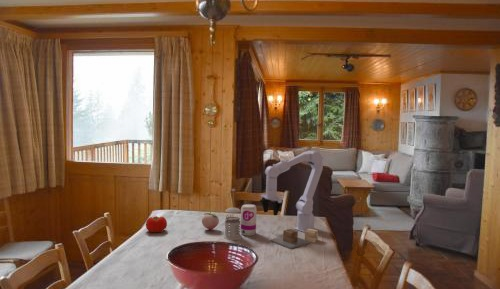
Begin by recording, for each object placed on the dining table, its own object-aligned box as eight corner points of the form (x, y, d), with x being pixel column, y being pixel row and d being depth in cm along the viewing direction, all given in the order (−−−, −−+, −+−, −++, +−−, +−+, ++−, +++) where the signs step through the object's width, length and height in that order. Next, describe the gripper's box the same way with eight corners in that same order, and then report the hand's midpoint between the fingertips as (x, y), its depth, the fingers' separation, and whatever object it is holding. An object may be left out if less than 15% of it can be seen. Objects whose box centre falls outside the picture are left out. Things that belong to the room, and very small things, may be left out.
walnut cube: (290, 238, 189) (290, 228, 189) (297, 241, 185) (297, 231, 185) (283, 240, 186) (283, 230, 185) (290, 243, 182) (290, 232, 182)
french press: (245, 235, 194) (246, 188, 192) (235, 242, 184) (236, 191, 182) (228, 233, 198) (229, 186, 197) (217, 239, 188) (218, 189, 186)
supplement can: (254, 236, 193) (255, 208, 192) (238, 235, 195) (239, 206, 194) (257, 232, 201) (258, 204, 200) (242, 230, 203) (242, 203, 202)
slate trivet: (289, 236, 195) (289, 234, 195) (310, 243, 185) (310, 241, 185) (270, 241, 186) (270, 239, 186) (290, 249, 176) (290, 247, 176)
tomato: (169, 228, 203) (169, 215, 203) (162, 234, 193) (162, 220, 192) (150, 227, 205) (150, 214, 204) (142, 233, 194) (142, 219, 193)
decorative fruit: (198, 231, 200) (198, 212, 200) (205, 227, 208) (206, 209, 207) (213, 233, 197) (214, 214, 196) (220, 229, 205) (221, 211, 204)
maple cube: (308, 238, 193) (308, 228, 193) (317, 240, 190) (317, 230, 190) (304, 240, 189) (304, 231, 188) (314, 242, 186) (314, 232, 186)
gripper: (256, 187, 204) (256, 211, 205) (275, 191, 193) (274, 217, 194) (266, 186, 208) (265, 210, 209) (285, 190, 197) (284, 215, 198)
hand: (270, 213), depth 202 cm, fingers open, 7 cm apart
